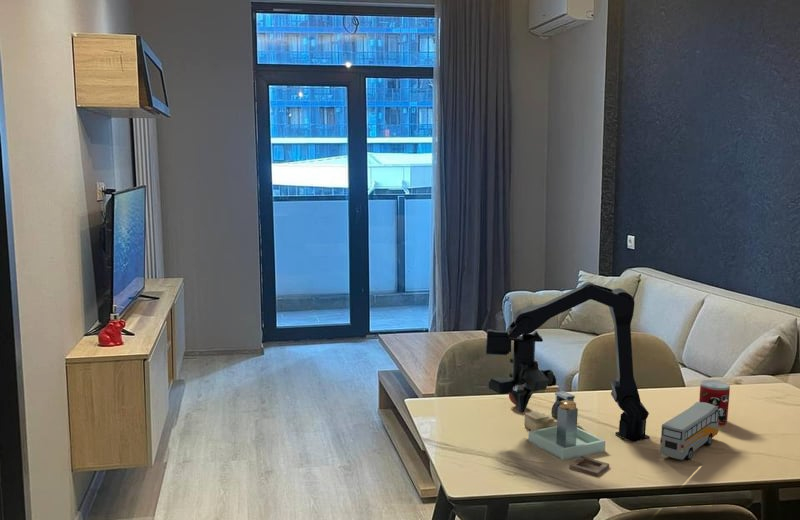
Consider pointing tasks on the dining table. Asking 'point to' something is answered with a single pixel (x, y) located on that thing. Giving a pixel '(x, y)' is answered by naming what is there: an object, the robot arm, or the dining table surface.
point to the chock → (539, 421)
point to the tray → (583, 447)
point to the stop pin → (567, 424)
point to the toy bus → (689, 431)
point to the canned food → (716, 397)
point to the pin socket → (589, 466)
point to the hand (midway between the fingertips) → (521, 412)
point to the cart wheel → (560, 397)
